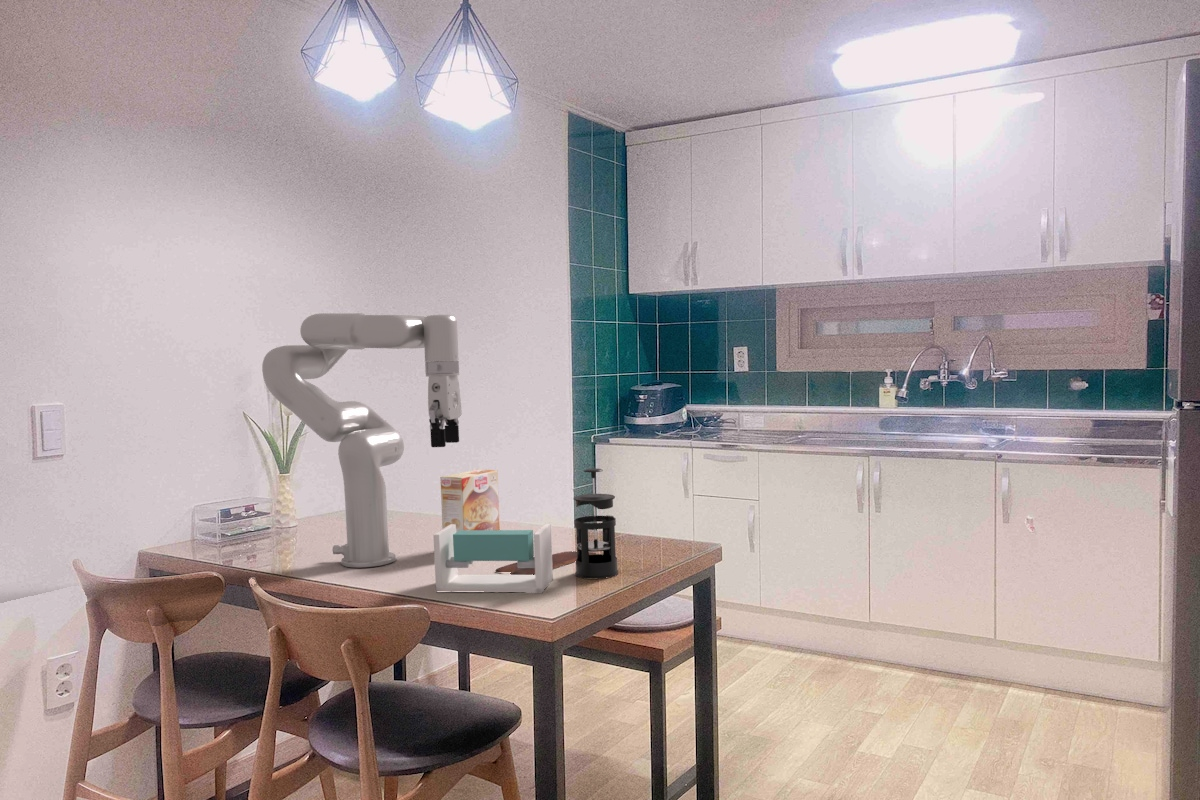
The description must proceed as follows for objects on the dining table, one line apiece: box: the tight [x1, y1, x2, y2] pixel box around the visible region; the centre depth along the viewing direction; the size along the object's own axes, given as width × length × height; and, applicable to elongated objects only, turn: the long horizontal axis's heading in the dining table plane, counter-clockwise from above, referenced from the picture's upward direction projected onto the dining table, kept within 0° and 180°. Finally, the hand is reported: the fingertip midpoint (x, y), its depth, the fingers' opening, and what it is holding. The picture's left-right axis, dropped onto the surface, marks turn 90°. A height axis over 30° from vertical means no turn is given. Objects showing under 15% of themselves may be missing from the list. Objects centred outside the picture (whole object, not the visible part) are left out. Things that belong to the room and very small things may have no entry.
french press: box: [573, 467, 619, 579], centre depth 196 cm, size 12×9×23 cm
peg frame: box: [433, 523, 554, 594], centre depth 188 cm, size 22×11×12 cm, turn 81°
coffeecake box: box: [439, 468, 500, 532], centre depth 223 cm, size 15×7×20 cm, turn 151°
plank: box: [453, 529, 535, 562], centre depth 188 cm, size 16×4×6 cm, turn 81°
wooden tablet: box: [495, 550, 597, 575], centre depth 208 cm, size 26×2×10 cm
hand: (445, 444), depth 205 cm, fingers open, 9 cm apart
